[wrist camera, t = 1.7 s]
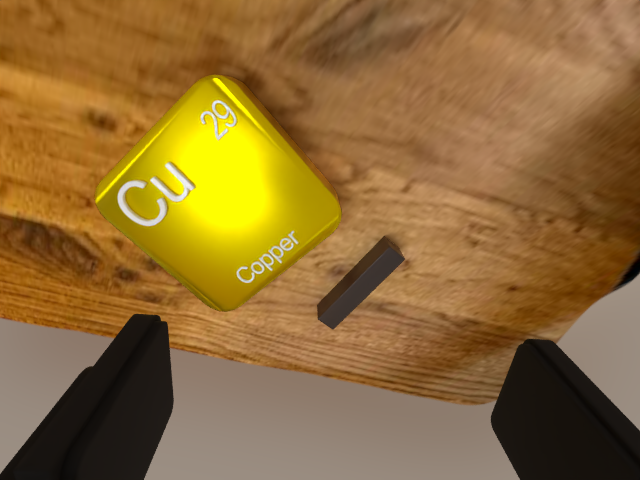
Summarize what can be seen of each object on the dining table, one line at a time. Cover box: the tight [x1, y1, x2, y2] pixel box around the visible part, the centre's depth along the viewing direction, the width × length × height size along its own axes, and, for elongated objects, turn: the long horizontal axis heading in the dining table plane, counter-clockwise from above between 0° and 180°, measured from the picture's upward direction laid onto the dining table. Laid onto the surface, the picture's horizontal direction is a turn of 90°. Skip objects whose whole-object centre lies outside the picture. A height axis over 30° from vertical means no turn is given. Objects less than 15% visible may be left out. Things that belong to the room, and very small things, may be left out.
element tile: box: [94, 74, 342, 312], centre depth 30 cm, size 15×15×5 cm
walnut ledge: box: [317, 236, 405, 329], centre depth 35 cm, size 2×10×2 cm, turn 140°
